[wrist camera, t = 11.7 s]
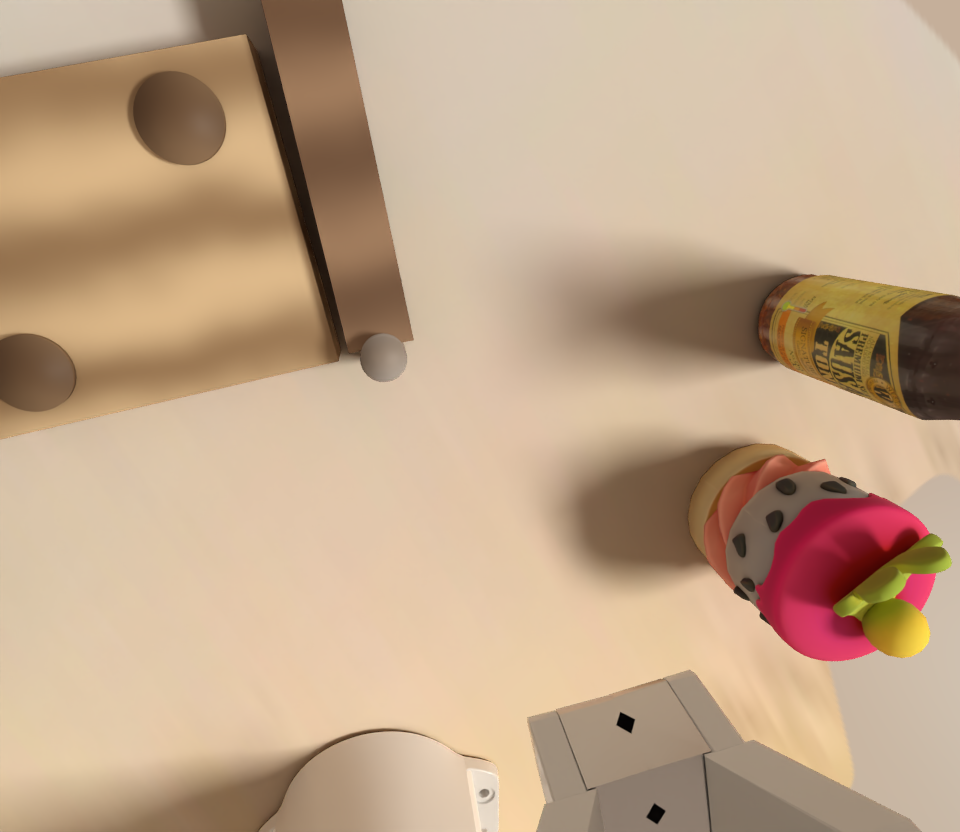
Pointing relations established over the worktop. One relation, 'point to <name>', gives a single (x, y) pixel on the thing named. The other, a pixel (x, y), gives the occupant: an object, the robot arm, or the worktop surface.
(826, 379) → the sauce bottle
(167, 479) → the worktop surface
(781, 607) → the cake
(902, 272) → the worktop surface
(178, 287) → the stool seat
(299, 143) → the brown wooden block
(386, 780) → the robot arm
